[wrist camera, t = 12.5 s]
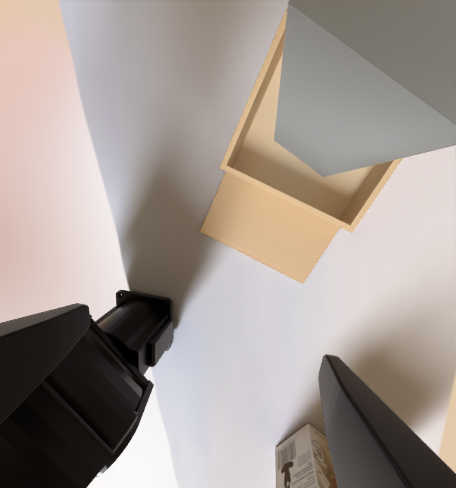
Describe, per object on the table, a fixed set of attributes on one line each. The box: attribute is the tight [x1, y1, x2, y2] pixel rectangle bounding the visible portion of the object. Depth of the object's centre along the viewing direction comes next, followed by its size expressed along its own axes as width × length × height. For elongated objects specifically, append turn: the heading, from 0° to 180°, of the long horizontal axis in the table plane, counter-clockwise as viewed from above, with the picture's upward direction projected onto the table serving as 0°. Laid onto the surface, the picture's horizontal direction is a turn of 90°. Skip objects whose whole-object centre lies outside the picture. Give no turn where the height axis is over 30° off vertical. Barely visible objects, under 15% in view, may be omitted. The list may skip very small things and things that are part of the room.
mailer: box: [200, 6, 403, 284], centre depth 16 cm, size 11×17×3 cm, turn 155°
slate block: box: [274, 0, 456, 177], centre depth 10 cm, size 5×4×13 cm
